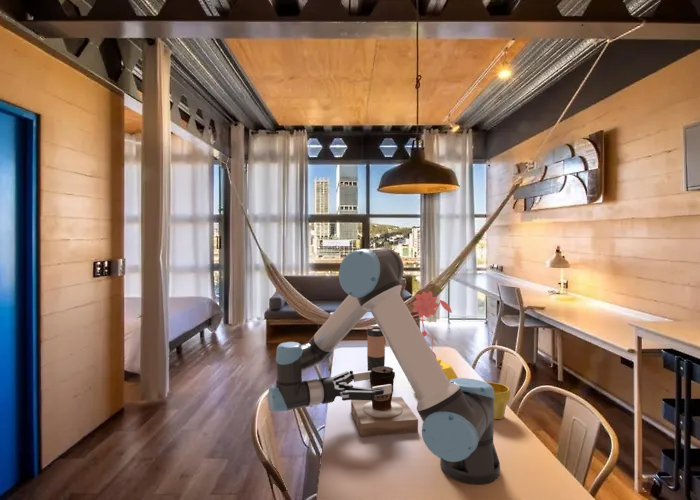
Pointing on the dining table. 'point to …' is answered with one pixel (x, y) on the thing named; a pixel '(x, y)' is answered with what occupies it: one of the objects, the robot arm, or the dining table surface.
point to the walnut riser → (383, 418)
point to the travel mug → (375, 348)
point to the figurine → (427, 307)
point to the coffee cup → (379, 378)
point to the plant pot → (500, 399)
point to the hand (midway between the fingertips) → (380, 381)
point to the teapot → (447, 369)
